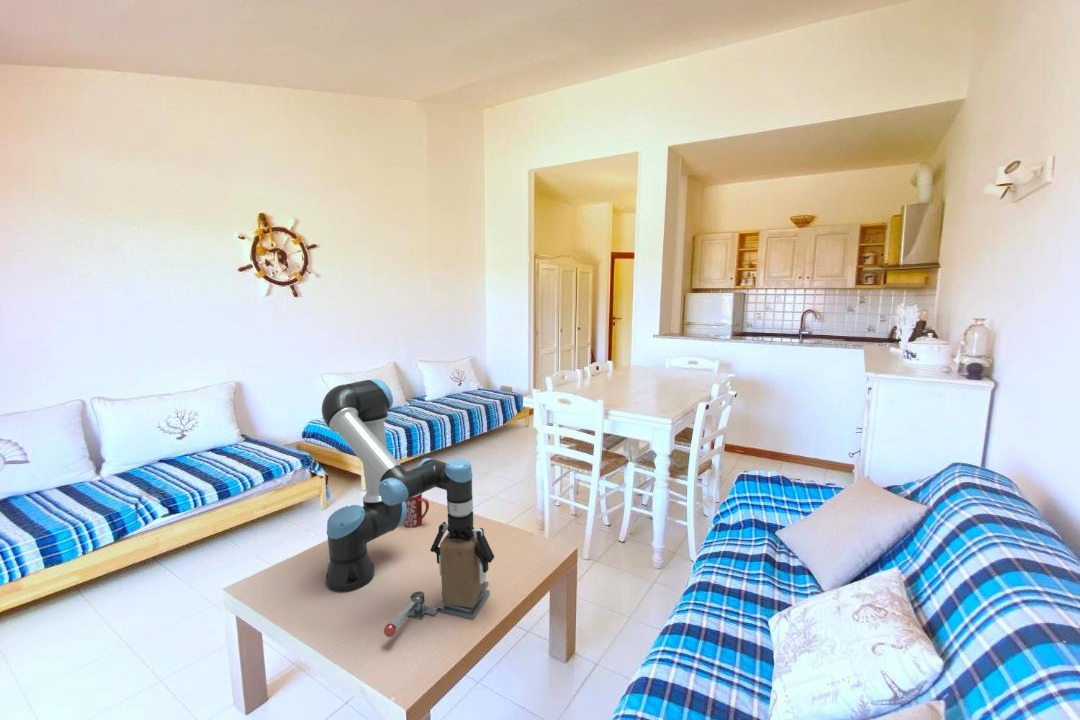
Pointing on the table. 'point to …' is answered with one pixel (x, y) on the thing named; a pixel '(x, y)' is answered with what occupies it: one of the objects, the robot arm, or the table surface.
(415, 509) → the mug
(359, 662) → the table surface
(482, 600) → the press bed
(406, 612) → the lever
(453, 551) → the wooden block
